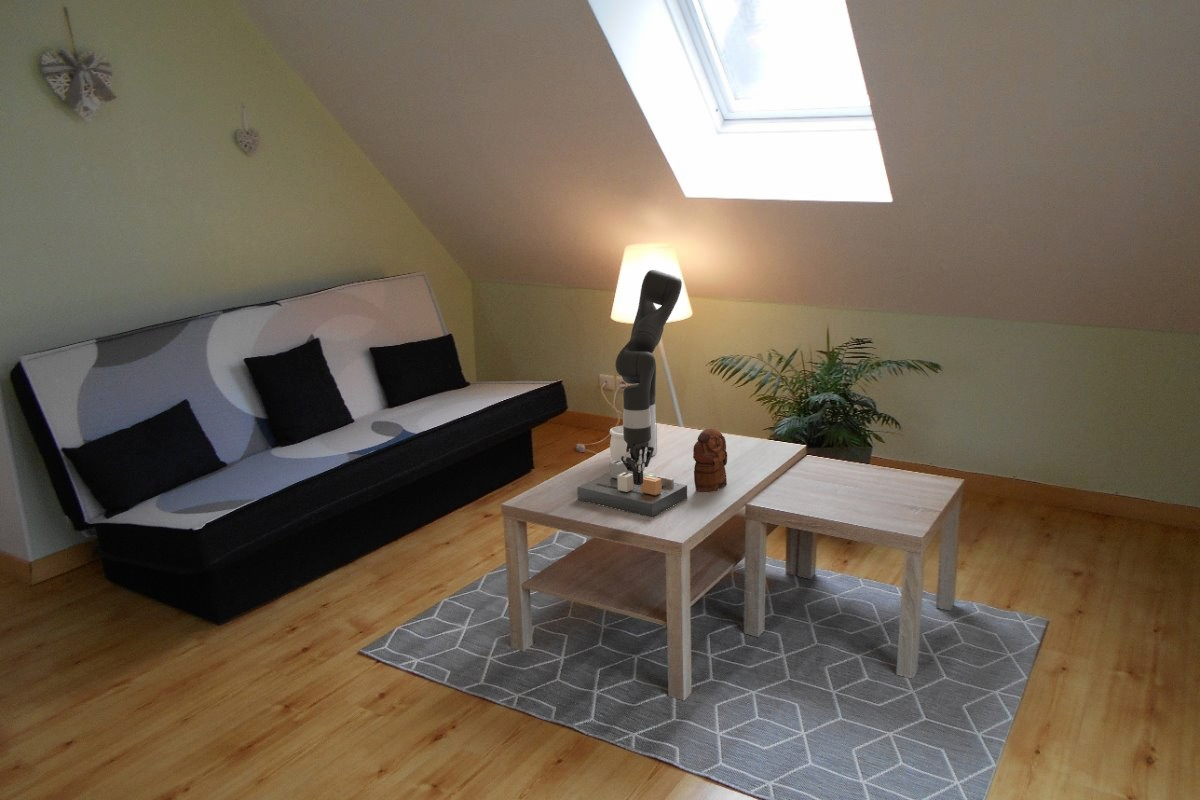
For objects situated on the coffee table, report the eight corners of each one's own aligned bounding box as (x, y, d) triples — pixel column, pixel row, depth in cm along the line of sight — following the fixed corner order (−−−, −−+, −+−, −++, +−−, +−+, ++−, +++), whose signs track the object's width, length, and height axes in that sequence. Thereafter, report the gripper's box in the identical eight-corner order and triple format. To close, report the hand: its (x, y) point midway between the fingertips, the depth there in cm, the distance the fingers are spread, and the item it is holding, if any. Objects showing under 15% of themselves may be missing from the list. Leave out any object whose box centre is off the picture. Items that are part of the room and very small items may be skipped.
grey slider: (616, 473, 299) (616, 459, 298) (625, 475, 297) (624, 461, 296) (610, 476, 296) (609, 462, 295) (618, 478, 295) (618, 463, 293)
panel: (614, 482, 305) (613, 462, 303) (687, 498, 289) (687, 477, 288) (577, 499, 291) (577, 478, 289) (652, 517, 276) (651, 495, 274)
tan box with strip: (646, 489, 285) (646, 475, 284) (661, 492, 282) (661, 478, 281) (640, 492, 283) (640, 477, 282) (655, 495, 280) (655, 481, 279)
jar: (641, 482, 304) (640, 435, 300) (607, 481, 306) (606, 433, 302) (646, 471, 314) (646, 425, 310) (614, 470, 316) (613, 424, 312)
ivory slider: (624, 486, 288) (623, 471, 287) (633, 488, 286) (633, 473, 285) (617, 489, 285) (617, 474, 284) (626, 492, 283) (626, 476, 282)
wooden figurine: (709, 495, 292) (709, 435, 287) (691, 490, 296) (691, 432, 291) (731, 483, 301) (731, 426, 296) (713, 479, 304) (713, 422, 300)
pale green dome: (647, 478, 294) (647, 472, 294) (658, 481, 292) (658, 474, 291) (639, 482, 291) (639, 475, 291) (650, 484, 289) (650, 478, 288)
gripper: (634, 431, 265) (635, 493, 269) (661, 419, 275) (662, 479, 279) (611, 427, 269) (613, 488, 274) (639, 416, 280) (640, 475, 284)
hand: (638, 484), depth 277 cm, fingers closed
